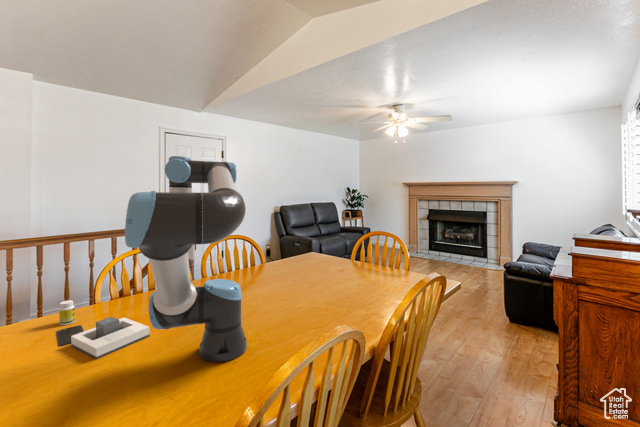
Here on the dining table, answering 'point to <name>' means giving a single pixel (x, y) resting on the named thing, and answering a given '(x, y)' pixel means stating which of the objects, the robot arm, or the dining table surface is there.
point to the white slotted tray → (110, 339)
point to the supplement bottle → (66, 312)
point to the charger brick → (107, 326)
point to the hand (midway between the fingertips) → (181, 261)
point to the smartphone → (67, 334)
